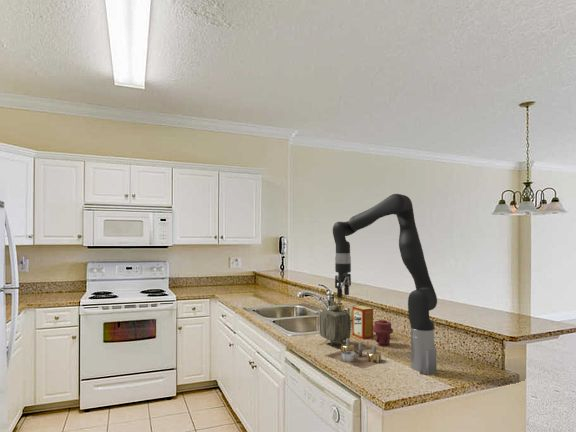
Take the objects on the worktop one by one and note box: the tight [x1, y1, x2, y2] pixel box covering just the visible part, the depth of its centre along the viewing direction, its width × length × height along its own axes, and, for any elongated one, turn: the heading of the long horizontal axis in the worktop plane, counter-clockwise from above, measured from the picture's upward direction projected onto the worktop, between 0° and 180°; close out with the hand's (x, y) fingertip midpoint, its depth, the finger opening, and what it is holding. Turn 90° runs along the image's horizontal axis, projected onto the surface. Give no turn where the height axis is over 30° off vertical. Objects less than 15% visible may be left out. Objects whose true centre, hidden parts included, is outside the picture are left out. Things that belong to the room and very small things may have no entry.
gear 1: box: [340, 340, 356, 352], centre depth 182 cm, size 6×6×5 cm
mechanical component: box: [373, 319, 394, 347], centre depth 198 cm, size 12×10×10 cm
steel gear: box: [341, 351, 356, 362], centre depth 171 cm, size 6×6×3 cm
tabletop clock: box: [318, 295, 352, 347], centre depth 195 cm, size 14×9×25 cm, turn 33°
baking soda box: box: [351, 305, 374, 340], centre depth 215 cm, size 10×6×16 cm
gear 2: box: [366, 350, 382, 364], centre depth 170 cm, size 6×6×3 cm
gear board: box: [324, 338, 387, 369], centre depth 174 cm, size 22×16×7 cm
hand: (343, 295), depth 190 cm, fingers open, 8 cm apart
